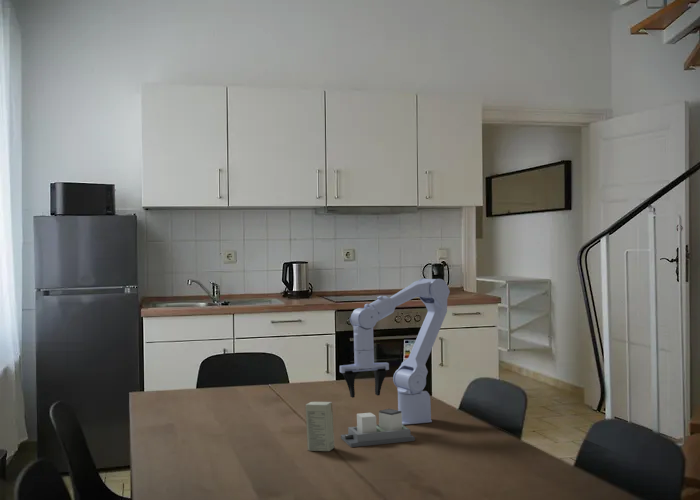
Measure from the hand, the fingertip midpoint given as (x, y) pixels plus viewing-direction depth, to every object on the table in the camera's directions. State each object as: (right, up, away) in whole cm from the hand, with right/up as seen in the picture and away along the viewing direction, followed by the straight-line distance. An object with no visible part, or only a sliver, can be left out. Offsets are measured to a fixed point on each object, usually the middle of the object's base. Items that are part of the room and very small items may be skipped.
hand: (365, 395), depth 221 cm
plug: (+7, -8, -12) cm, 16 cm away
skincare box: (-12, -10, -22) cm, 27 cm away
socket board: (+3, -9, -14) cm, 17 cm away
